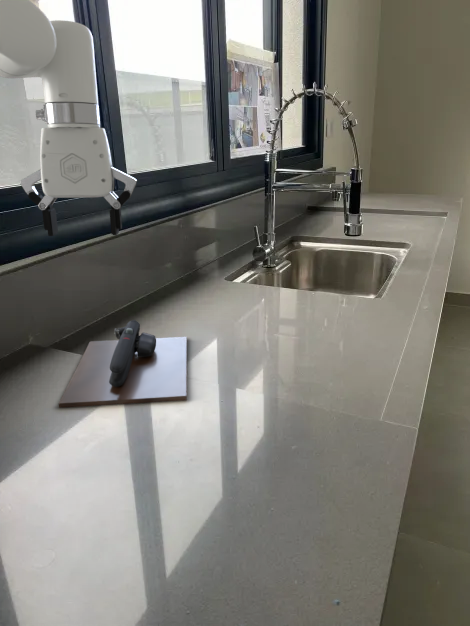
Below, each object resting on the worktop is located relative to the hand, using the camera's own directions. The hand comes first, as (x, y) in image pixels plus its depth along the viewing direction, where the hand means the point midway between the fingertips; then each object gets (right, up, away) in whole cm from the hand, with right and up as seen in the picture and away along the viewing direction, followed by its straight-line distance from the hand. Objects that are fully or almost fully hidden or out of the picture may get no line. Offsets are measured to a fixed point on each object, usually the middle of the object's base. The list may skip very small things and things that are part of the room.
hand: (84, 234), depth 78 cm
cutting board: (+7, -22, +4) cm, 24 cm away
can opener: (+6, -21, +3) cm, 22 cm away
